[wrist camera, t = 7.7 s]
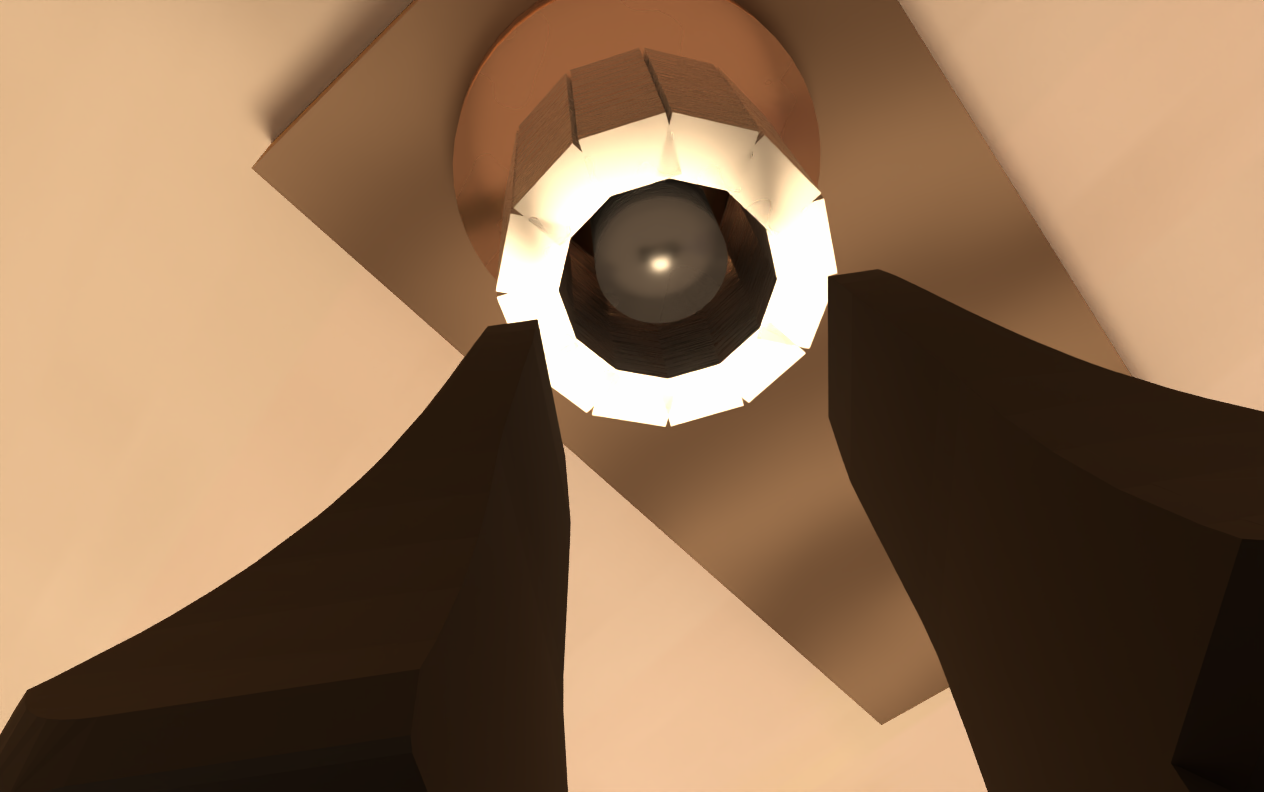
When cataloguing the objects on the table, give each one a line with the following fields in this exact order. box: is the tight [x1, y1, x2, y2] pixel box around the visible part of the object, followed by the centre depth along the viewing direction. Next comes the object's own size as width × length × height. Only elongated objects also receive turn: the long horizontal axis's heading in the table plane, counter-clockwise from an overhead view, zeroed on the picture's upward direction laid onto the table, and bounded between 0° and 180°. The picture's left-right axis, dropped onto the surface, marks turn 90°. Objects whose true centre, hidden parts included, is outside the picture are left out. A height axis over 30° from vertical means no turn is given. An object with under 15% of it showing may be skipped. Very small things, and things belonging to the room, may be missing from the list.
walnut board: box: [252, 0, 1132, 725], centre depth 22 cm, size 23×11×2 cm, turn 40°
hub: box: [453, 0, 821, 323], centre depth 16 cm, size 7×7×5 cm
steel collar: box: [496, 48, 837, 426], centre depth 16 cm, size 5×5×4 cm
